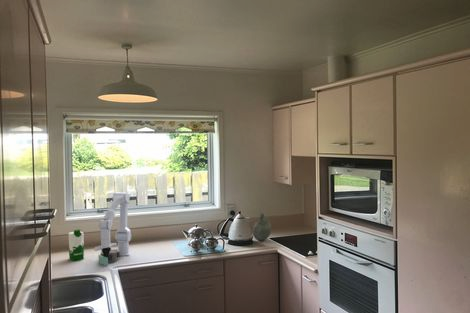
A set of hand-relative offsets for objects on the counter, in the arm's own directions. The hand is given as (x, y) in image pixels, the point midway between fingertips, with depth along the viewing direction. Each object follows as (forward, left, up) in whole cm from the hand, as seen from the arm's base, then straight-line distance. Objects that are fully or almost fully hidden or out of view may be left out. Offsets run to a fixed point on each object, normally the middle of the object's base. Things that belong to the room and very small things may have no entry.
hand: (106, 259), depth 242 cm
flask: (-37, +114, -4) cm, 120 cm away
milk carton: (-16, -21, -4) cm, 27 cm away
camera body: (-9, +1, -3) cm, 10 cm away
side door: (-1, -2, -3) cm, 4 cm away
